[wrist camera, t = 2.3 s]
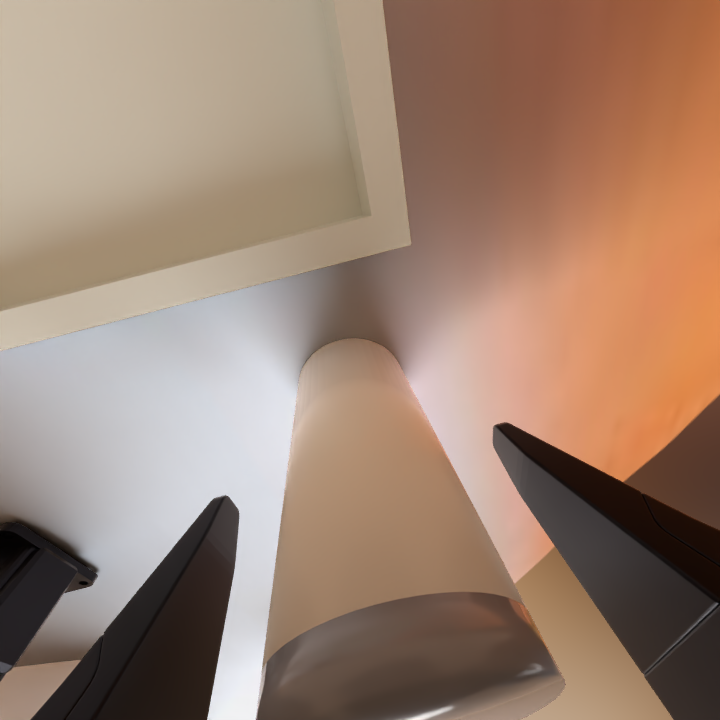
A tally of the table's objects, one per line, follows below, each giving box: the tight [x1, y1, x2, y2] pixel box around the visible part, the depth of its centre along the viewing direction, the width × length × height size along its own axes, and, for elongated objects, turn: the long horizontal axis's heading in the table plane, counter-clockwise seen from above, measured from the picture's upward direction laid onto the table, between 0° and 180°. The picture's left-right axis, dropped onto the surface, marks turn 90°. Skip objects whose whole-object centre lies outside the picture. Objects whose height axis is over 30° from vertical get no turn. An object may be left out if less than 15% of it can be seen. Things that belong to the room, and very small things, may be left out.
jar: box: [256, 338, 566, 720], centre depth 9 cm, size 5×5×10 cm
